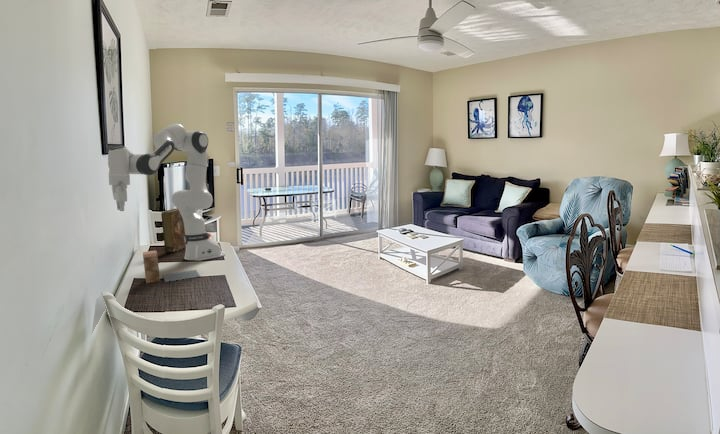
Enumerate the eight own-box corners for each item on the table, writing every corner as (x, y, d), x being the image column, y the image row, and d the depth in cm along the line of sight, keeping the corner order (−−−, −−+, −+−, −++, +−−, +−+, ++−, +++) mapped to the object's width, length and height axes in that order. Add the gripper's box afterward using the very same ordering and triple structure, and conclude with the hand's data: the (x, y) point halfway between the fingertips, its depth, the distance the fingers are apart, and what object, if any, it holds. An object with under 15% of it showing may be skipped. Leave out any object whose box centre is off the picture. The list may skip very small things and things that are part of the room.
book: (180, 246, 298) (176, 208, 294) (188, 247, 297) (184, 208, 293) (165, 253, 283) (161, 212, 278) (173, 253, 281) (169, 212, 277)
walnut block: (159, 278, 230) (156, 250, 227) (160, 281, 224) (157, 252, 222) (145, 280, 227) (142, 252, 225) (146, 283, 222) (143, 254, 219)
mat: (196, 270, 241) (195, 269, 241) (200, 276, 229) (200, 276, 229) (162, 275, 234) (162, 274, 234) (165, 282, 222) (165, 281, 222)
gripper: (129, 181, 213) (131, 211, 214) (124, 180, 230) (125, 208, 231) (114, 181, 209) (115, 212, 211) (109, 180, 226) (111, 209, 228)
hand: (120, 210), depth 221 cm, fingers open, 8 cm apart
